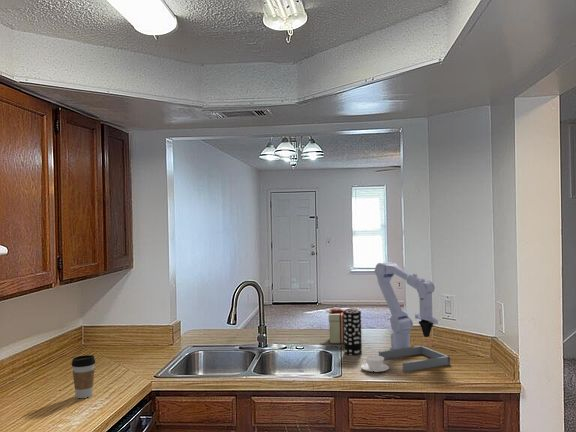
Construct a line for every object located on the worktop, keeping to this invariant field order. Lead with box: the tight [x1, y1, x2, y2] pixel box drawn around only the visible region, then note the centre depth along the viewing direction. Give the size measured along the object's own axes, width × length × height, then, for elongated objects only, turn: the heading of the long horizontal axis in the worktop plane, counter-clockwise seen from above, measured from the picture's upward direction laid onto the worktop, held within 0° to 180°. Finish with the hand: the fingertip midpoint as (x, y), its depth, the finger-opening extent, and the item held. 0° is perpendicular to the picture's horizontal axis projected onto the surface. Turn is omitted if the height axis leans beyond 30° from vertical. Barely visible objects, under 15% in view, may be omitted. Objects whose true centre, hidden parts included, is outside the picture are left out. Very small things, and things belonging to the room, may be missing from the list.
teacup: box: [360, 354, 390, 373], centre depth 212 cm, size 12×12×5 cm
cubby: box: [378, 345, 451, 372], centre depth 223 cm, size 20×24×4 cm
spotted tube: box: [343, 309, 363, 356], centre depth 239 cm, size 8×8×20 cm
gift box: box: [325, 307, 359, 344], centre depth 265 cm, size 17×18×17 cm
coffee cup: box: [71, 354, 96, 399], centre depth 188 cm, size 8×8×15 cm
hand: (426, 336), depth 230 cm, fingers closed
